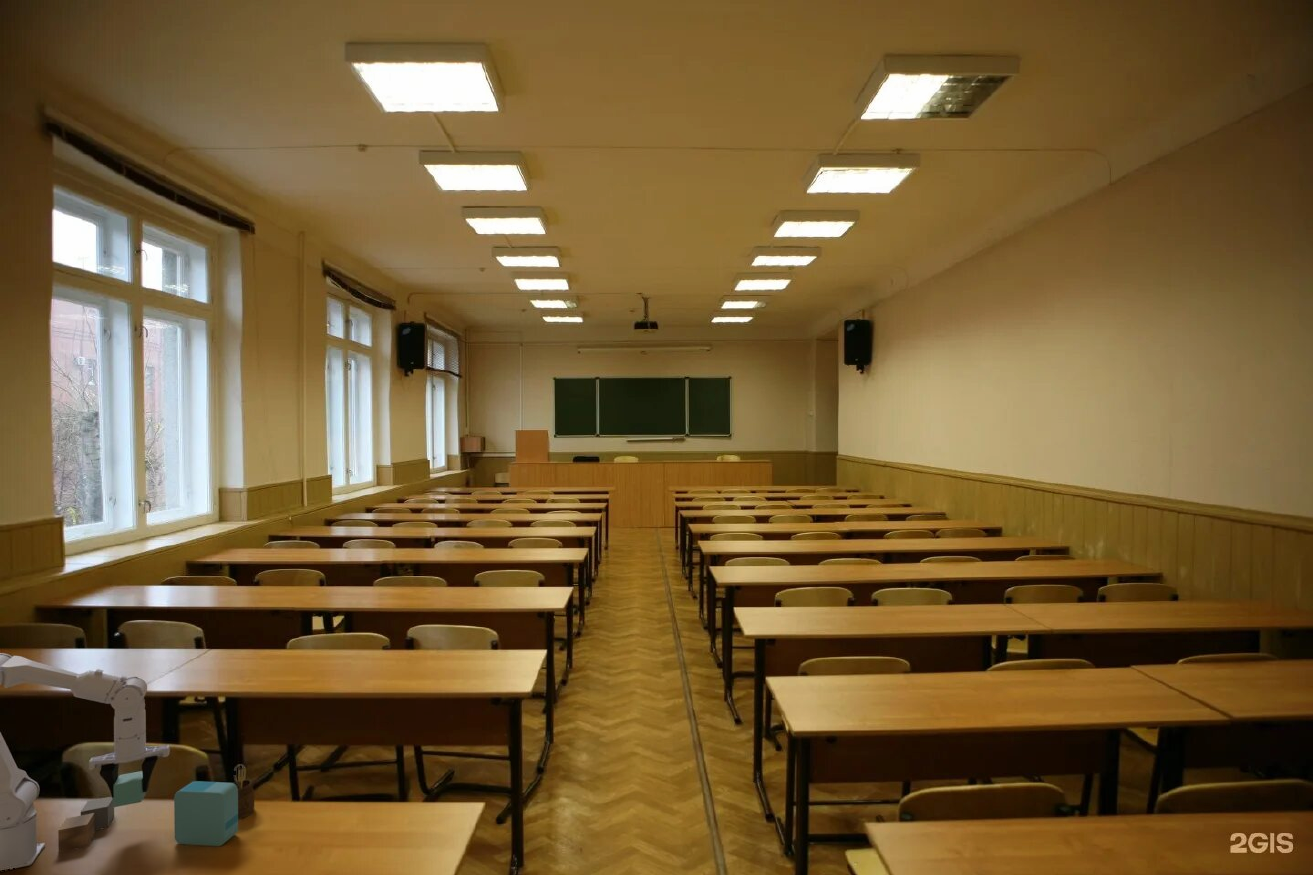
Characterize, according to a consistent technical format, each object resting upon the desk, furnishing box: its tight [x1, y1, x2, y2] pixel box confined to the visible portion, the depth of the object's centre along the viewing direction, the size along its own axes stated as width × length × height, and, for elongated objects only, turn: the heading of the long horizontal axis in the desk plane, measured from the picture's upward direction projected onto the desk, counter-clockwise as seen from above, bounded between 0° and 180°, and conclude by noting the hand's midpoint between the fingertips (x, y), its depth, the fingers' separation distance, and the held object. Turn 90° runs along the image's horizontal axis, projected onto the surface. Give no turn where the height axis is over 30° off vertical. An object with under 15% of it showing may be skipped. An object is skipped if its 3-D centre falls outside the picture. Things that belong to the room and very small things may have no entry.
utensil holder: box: [233, 763, 255, 820], centre depth 163 cm, size 6×6×12 cm
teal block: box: [114, 770, 147, 808], centre depth 155 cm, size 5×5×5 cm
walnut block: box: [57, 813, 95, 853], centre depth 151 cm, size 5×5×5 cm
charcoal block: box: [80, 796, 115, 831], centre depth 158 cm, size 5×5×5 cm
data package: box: [173, 780, 239, 847], centre depth 153 cm, size 12×4×12 cm, turn 85°
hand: (130, 792), depth 155 cm, fingers closed on teal block, 5 cm apart
